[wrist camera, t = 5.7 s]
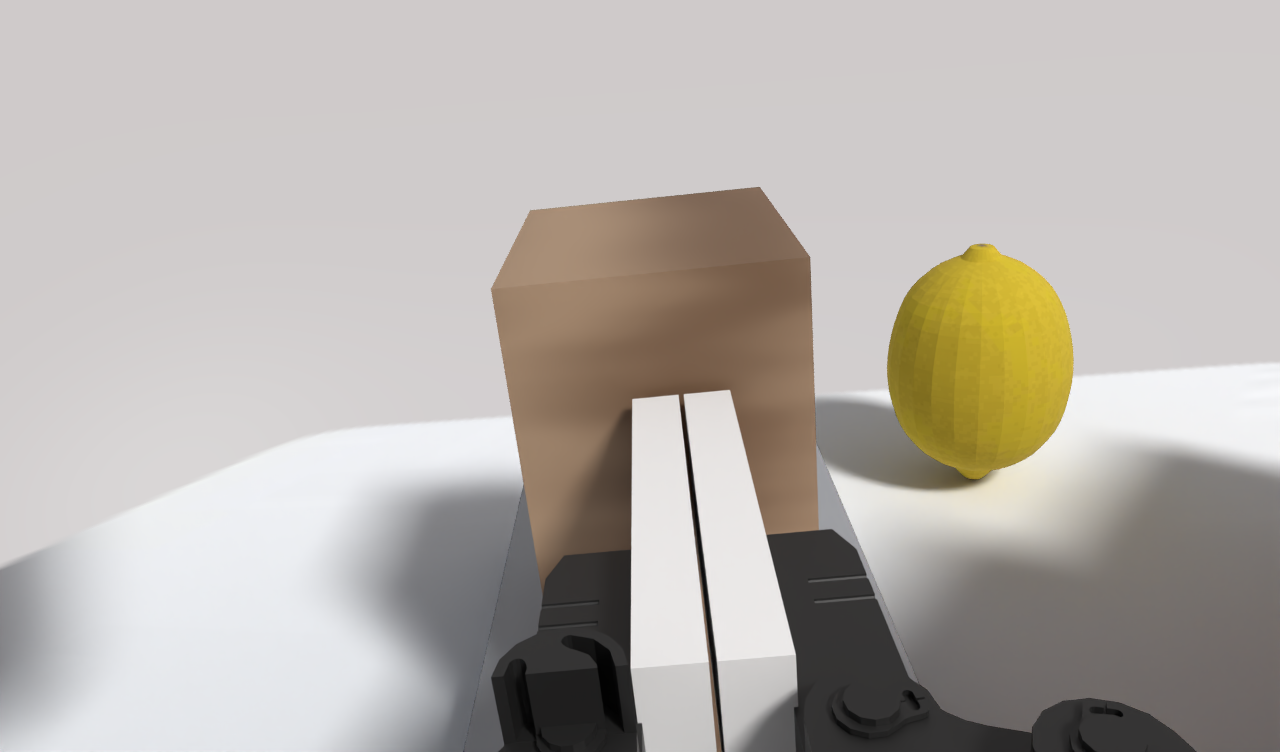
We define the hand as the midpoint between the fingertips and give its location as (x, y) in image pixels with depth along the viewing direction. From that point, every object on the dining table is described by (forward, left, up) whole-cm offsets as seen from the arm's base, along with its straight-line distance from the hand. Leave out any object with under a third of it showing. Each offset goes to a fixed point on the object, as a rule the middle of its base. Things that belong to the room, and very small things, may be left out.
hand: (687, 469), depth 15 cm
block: (0, +3, -8) cm, 8 cm away
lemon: (+10, +14, -9) cm, 19 cm away
